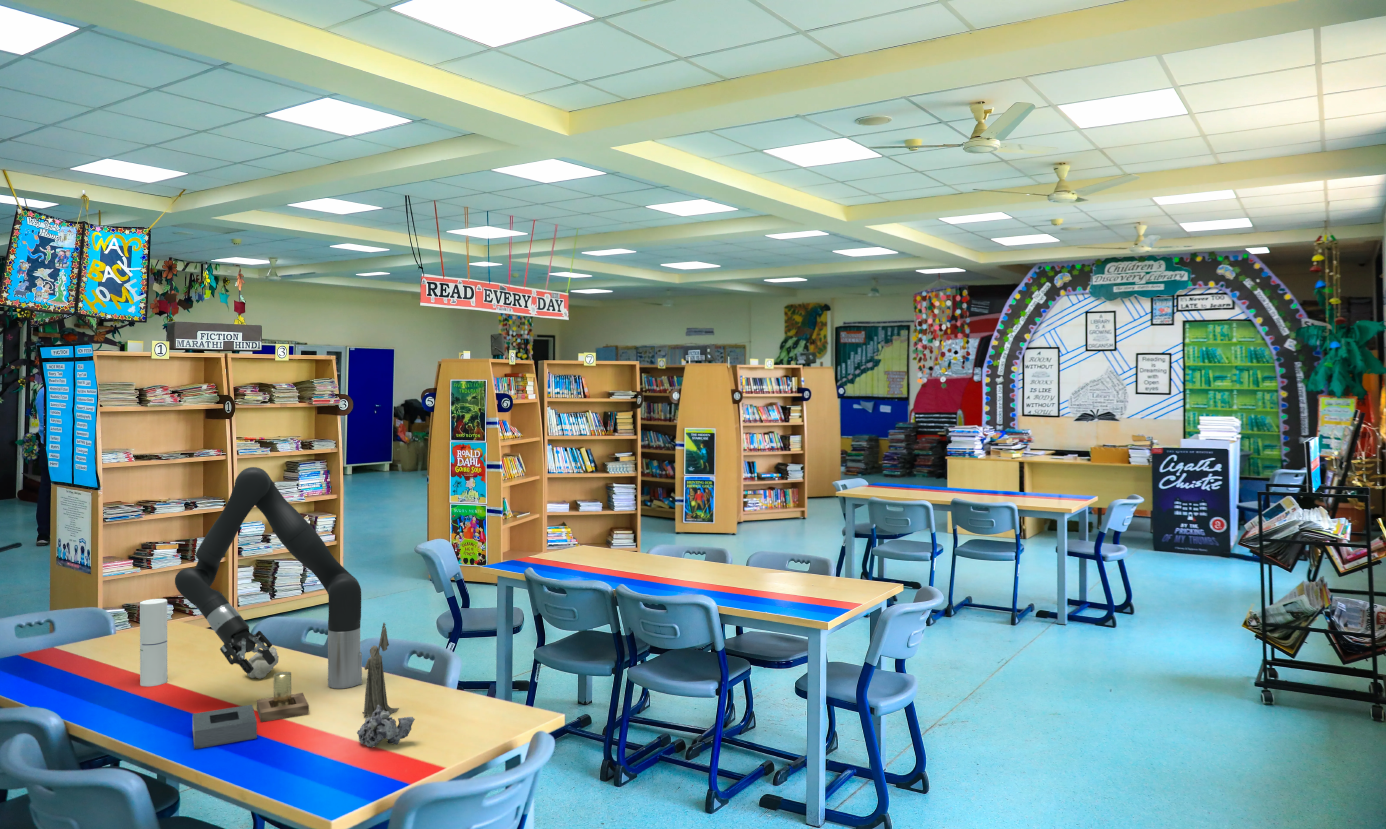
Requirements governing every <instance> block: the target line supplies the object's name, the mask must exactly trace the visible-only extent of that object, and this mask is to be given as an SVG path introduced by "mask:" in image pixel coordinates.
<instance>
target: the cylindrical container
mask: <svg viewBox="0 0 1386 829" xmlns="http://www.w3.org/2000/svg"><path fill="white" fill-rule="evenodd" d="M139 661H140V662H139V675H140V676H139V680H140V682H139V685H140V686H141V687H155V686H160V685H164V684H166V683H168V599H166V598H151V599H146V600H145V599H144V600H143V601H140V602H139Z"/></svg>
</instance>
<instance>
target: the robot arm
mask: <svg viewBox="0 0 1386 829" xmlns="http://www.w3.org/2000/svg"><path fill="white" fill-rule="evenodd" d="M254 507H256V508H257V509H258V510H259V511H260V512H261V514H262V515H263V516H264V517H265V519H266V521H267V522H268V524H269V526H270V527H271V529H272V531H273V532H274V534H275V535H276V537H277V538H278V540H279V541H280V542H281V544H282V545H283V546H284V548H285V549H286V550H287V551H288V552H289V553H290V554H291V555H292V556H293V557H294V558H295V559H296V560H297V561H298V562H299V563H301V565H303V566H305V568H307V569H308V570H309V571H310V572H311V573H312V574H314V576H315V577H316V579H318V581H319V582H320V583H321V585H322V586H323V588H324V589H325V592H326V593H327V594H328V619H327V632H328V633H327V686H328V687H329V688H331V689H347V688H348V689H349V688H354V687H356V686H359V685H362V683H363V677H362V676H363V654H362V652H361V621H362V620H361V619H362V587H361V586H360V583H359V581H358V579H357V578H356V577H354V576H353V575H352V574H351V573H350V572H349V571H348V570H347V569H345V567H344V566H343V565H341V564H340V563H339V561H337V559H336V558H335V557H334V555H332V552H331V551H330V549H329V548H328V546H327V545H326V543H325V542H324V541H323V539H322V537H320V535H319V533H317V531H316V529H314V528H313V526H312V525H311V524H310V523H309V522H308V521H307V520H306V519H305V517H304V516H303V515H301V514H300V512H299V511H298V510H297V509H295V507H294V506H293V505H292V504H290V503H289V502H288V501H287V499H286V498H284V496H283V495H282V494H281V492H280V491H279V489H278V487H277V486H276V485H275V482H273V480H272V479H271V477H270V475H269V473H267V471H266V470H264V469H263V468H260V467H258V466H257V467H256V466H251V467H246V468H244V469H242V471H240V472H239V473H238V475H237V476H236V478H235V480H234V486H233V489H232V491H231V494H230V497H229V498H228V501H227V503H226V505H225V507H224V508H223V510H222V512H221V514H220V515H219V516H218V517H217V519H216V520H215V522H214V523H213V525H212V526H211V528H210V529H209V530H208V532H207V533H206V535H205V537H204V538H203V540H202V542H201V543H200V544H199V546H198V548H197V550H196V552H195V558H196V559H197V560H198V561H197V563H196V565H195V567H190V568H189V567H188V568H183V569H181V570H179V571H178V572H177V574H176V575H175V577H174V585H175V588H176V589H177V591H178V593H179V594H180V595H182V597H183V598H184V599H186V600H187V601H189V603H190V604H192V605H193V606H195V607H196V608H197V609H198V610H199V612H200V613H201V614H202V616H203V617H204V618H205V619H206V621H207V623H208V624H209V626H210V627H211V629H212V630H213V632H214V633H215V634H216V635H217V637H218V638H219V640H220V641H221V642H222V643H223V645H221V647H220V648H219V650H220V652H221V653H222V655H223V656H224V657H225V659H226V660H227V662H228V663H229V665H231V666H233V665H234V664H236V665H239V667H240V668H241V669H242V671H243V672H244V673H246V675H248V674H249V673H251V672H252V671H253V669H254V668H253V667H252V665H251V664H250V663H249V661H248V660H249V659H247V658H246V653H253V654H257V653H259V654H261V655H262V657H263V658H264V659H265V660H266V662H267V663H268V664H269V665H271V664H273V663H274V662H275V657H274V656H273V655H272V654H271V652H270V651H269V649H270V648H271V647H273V644H272V642H270V640H269V639H268V638H267V637H266V636H265V634H264V633H263V632H262V631H261V630H258V631H256V633H254V634H253V633H251V632H250V626H249V624H248V623H247V621H245V619H244V618H243V617H242V616H241V614H240V613H239V612H238V611H237V610H236V608H235V607H233V606H232V605H231V603H230V602H229V601H228V599H227V598H226V597H225V595H223V594H222V592H220V591H219V590H217V589H213V588H212V587H211V586H212V585H213V583H214V582H215V579H216V576H217V575H218V570H219V568H220V566H221V565H220V564H221V561H222V560H223V558H224V557H225V555H226V553H227V552H228V550H229V549H230V547H231V545H232V543H233V542H234V539H235V538H236V536H237V533H238V532H239V530H240V528H241V527H242V524H243V523H244V521H245V519H246V518H247V517H248V515H249V513H250V512H251V511H252V509H253V508H254Z"/></svg>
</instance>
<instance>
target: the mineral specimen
mask: <svg viewBox="0 0 1386 829" xmlns="http://www.w3.org/2000/svg"><path fill="white" fill-rule="evenodd" d="M364 719H365V720H364V723H362V724H361V726H360V728H359V729H358V730H357V732H356V734H357V736H358V742H360V744H361V745H363V746H366V747H370V748H374V747H377V745H378V743H380V742H381V741H383V740H384V739H385V740H386V739H387V741H386V743H387V744H388V745H391V744H392V745H397V746H398V745H399V744H400V741H401V740H402V739H405V738H407V737H408V736H409V734H410V733H411V731H412V726H413V724H414V721H415V720H416V718H415V717H413V716H406V717H398V718H397V720H398V724H397V721H396V719H395V718H393V716H391V715H390V714H389V711H387V712H386V711H384V710H382V707H381V706H380V705H377V709H376V710H375V711H374V712H373V714H372V717H367V718H364Z"/></svg>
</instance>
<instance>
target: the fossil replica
mask: <svg viewBox="0 0 1386 829" xmlns="http://www.w3.org/2000/svg"><path fill="white" fill-rule="evenodd" d="M269 651H270V652H271V654H272V655H273V656H274V657H275V662H274V663H273V664H271V665H269V664H268V663H267V662H266V660H265V659H264V658H263V657H262V655H261V654H259V653H257V652H256V653H254V655H253V656H251V657H250V658H249V659H247V660H248V661H249V663H250V664H251V665H252V667H253V668H254V669H253V671H252V672H251V673H249V674H247V676H248V677H249V678H250V679H256V678H257V679H260V680H261V679H263V678H265V677H266V676H267V675H268V673H271V671H272V670H273V669H274V667H275V666H277V664H278V663H279V654H278V652H277V651H278V649H277V648H276V647H274V646H271V647H270V649H269Z"/></svg>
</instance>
